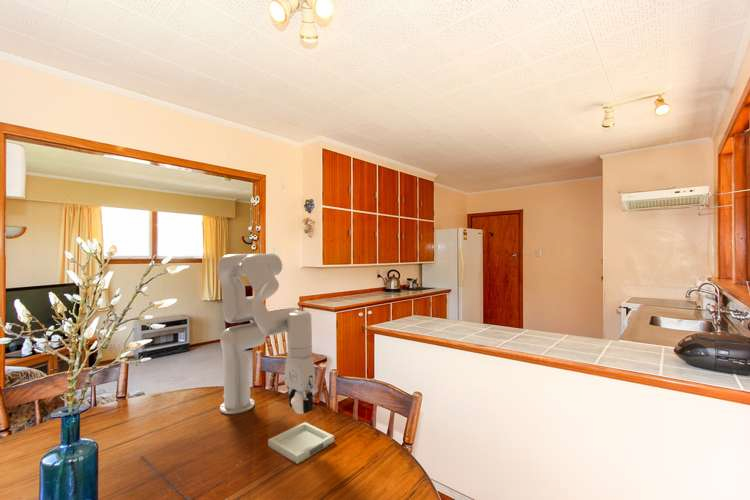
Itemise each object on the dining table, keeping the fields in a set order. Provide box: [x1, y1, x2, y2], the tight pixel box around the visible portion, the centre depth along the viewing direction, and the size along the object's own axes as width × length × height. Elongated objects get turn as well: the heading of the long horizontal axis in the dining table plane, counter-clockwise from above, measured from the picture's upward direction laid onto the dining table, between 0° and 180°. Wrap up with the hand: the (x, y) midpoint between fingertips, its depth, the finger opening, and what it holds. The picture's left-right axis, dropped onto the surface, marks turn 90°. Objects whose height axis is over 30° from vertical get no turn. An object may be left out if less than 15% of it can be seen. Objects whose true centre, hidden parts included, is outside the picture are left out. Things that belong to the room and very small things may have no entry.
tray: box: [267, 421, 335, 464], centre depth 111 cm, size 15×14×2 cm
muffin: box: [291, 391, 305, 415], centre depth 111 cm, size 6×6×7 cm
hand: (301, 408), depth 111 cm, fingers closed on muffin, 6 cm apart
